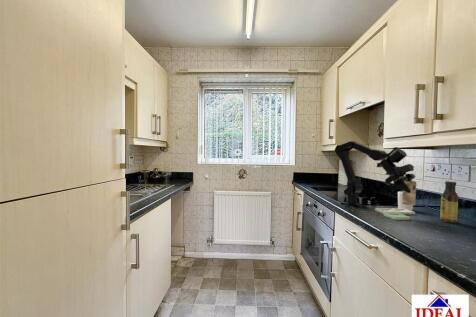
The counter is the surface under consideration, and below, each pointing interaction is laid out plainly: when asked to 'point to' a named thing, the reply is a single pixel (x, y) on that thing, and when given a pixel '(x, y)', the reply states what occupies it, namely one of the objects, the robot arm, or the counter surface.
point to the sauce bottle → (449, 203)
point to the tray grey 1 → (385, 210)
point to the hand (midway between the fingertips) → (412, 192)
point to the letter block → (409, 197)
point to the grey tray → (403, 211)
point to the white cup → (400, 205)
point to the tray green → (397, 216)
